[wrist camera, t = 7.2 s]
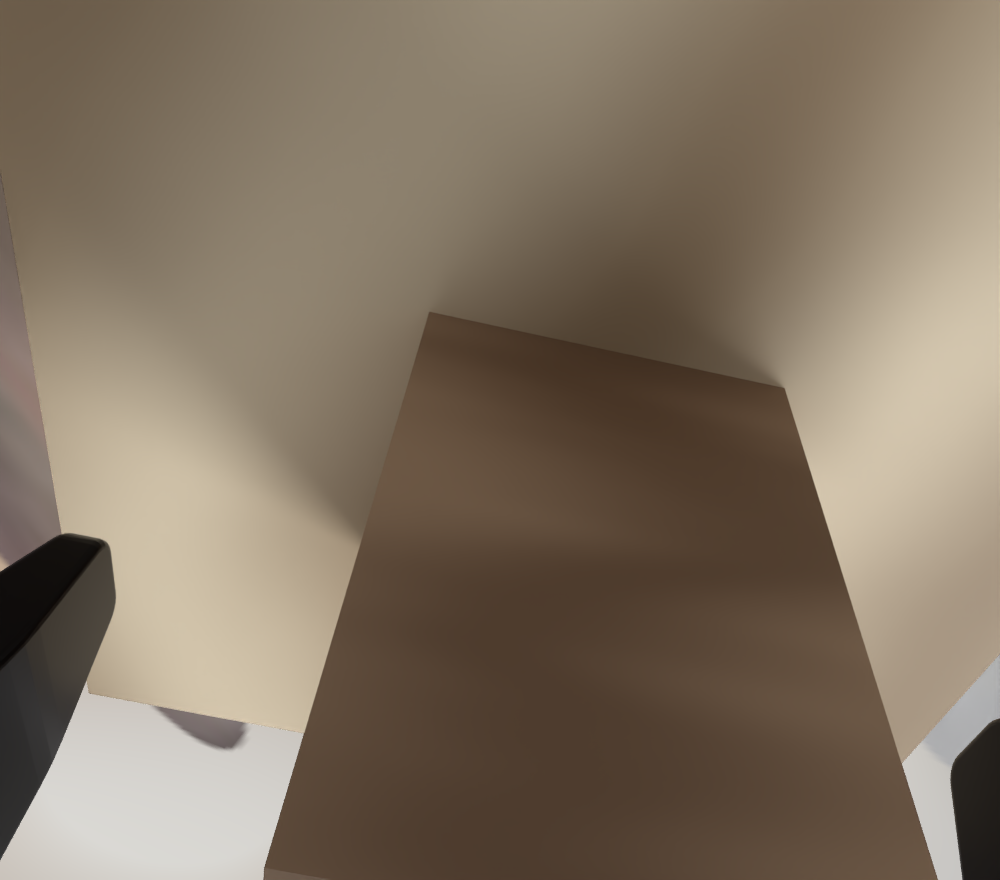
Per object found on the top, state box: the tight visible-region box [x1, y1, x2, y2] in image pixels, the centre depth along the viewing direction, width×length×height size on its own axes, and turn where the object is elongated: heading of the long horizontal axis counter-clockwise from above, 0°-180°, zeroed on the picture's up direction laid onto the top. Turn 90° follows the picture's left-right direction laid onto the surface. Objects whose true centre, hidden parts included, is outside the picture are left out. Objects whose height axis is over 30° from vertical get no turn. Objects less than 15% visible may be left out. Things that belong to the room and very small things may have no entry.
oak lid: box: [0, 0, 1000, 880], centre depth 9 cm, size 13×13×7 cm
